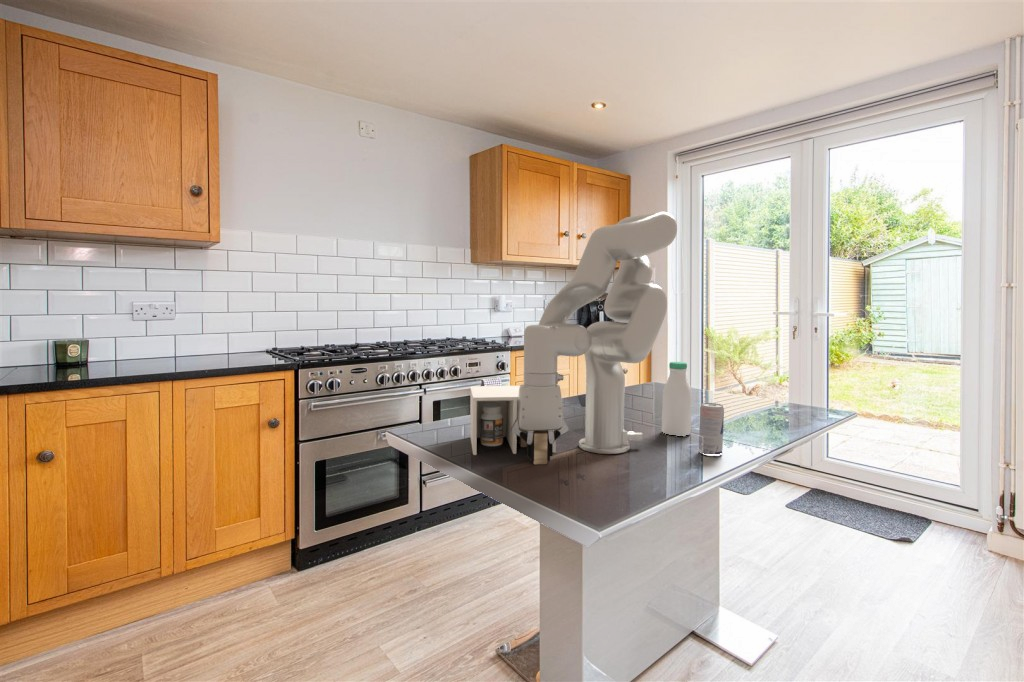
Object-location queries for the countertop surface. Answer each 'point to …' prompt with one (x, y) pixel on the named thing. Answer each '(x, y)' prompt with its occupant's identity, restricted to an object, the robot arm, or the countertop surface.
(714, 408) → the energy drink
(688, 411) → the milk bottle
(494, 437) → the pill bottle
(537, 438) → the wooden block tool
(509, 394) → the cubby shelf
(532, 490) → the countertop surface
